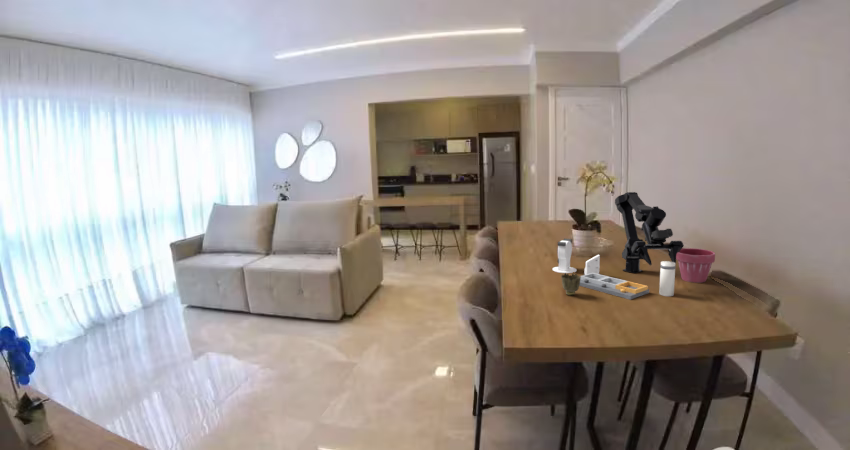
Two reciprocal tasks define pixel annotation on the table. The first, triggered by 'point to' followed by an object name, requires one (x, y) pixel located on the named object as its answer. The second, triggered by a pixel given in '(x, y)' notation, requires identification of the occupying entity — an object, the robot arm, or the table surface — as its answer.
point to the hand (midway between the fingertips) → (662, 264)
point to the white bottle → (667, 278)
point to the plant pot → (695, 264)
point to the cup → (570, 283)
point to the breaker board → (613, 286)
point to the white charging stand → (564, 257)
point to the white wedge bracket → (592, 265)
